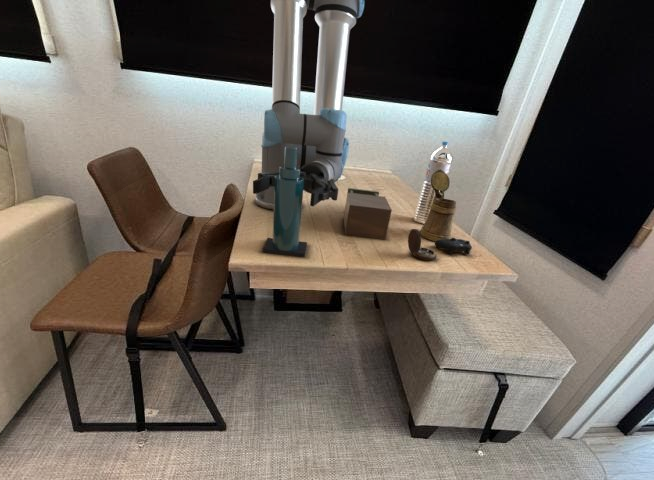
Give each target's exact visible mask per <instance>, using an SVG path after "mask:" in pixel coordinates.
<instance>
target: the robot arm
mask: <svg viewBox="0 0 654 480" xmlns="http://www.w3.org/2000/svg"><path fill="white" fill-rule="evenodd" d="M270 8H271V11H272V13H273V19H274V20H273V48H272V49H273V51H272V53H273V55H272V87H271V89H272V92H271V109H266V110H264V115H263V117H264V118H263V119H264V120H263V133H262V138H261V145H260V146H261V172H258V173H257V179H254V180H252V194H254V195H255V204H256V205H257V206H258V207H261V208H263V209H266V210H271V211H274V184H275V175H278V174H280V166H284V158H285V147H286V146H290V147H296V148H298V149H297V164H296V167H298V168H300V177H303V178H304V188H303V192H305V193H308V194H310V201H309V202H310V203H309V206H310V207H315V206H316V205H317V204H319V203H321V202H324V201H326V200H329V199H331V200H332V201H333V202H336V201H338V196H339V188H338V186H337V185H336V183H337V181H339V179H340V178H341V177H342V176H343V174H344V169H345V167H346V166H345V165H346V163H347V159H348V154H349V148H350V147H349V145H350V140H349V139H348V138H347V137H346V131H347V129H346V128H347V117H348V116H347V113H346V111H344V110H343V103H344V102H343V101H344V93H345V83H346V82H345V81H346V72H347V63H348V54H349V53H348V52H349V42H350V33H351V29H352V28H354V27H355V25H356V24H357V19H359V18H361V17H362V15H363V13H364V9H365V0H270ZM308 10H311V11H314V20H315V22H316V24H317V26H318V27H319V33H318V46H317V60H316V61H317V62H316V75H315V89H314V102H313V114H310V113H309V114H308V113H301V85H302V83H301V82H302V54H303V29H304V26H303V25H304V18H305V16H306V15H307V12H308Z"/></svg>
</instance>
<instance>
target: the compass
mask: <svg viewBox="0 0 654 480" xmlns="http://www.w3.org/2000/svg"><path fill="white" fill-rule="evenodd" d="M421 245H422V236H421V234H420V228H412V229H410V231H409V233H408V236H407V246H408V249H409V252H410V253H412V256H414V257H415V258H417V259H419V260H423V261H430V262H431V261H434V260H436V259H437V254H436V252H435V251H434V250H433V249H431V248H427V247H422V246H421Z"/></svg>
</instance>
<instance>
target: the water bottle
mask: <svg viewBox="0 0 654 480" xmlns="http://www.w3.org/2000/svg"><path fill="white" fill-rule="evenodd" d="M449 143H450V142H449V141H445V140H444V141H443V140H442V142H441V146H440V147H438V148H436V149H435V150H434V151H432V152H431V154H430V155H429V161H428V164H427V167H426V171H425V175H424V179H423V181H422V185H421V189H420V193H419V197H418V201H417V203H416V208H415V211H414V215H413V220H414V221H415V222H416V223H418V224H422V225H424V224H425V221H426V219H427V217H428V214H429V212H430V209H431V208H430V206H431V205H432V203H433V199H434V196H435V191H434V189H433V188H432V185H431V178H432V175H433V174H434V173H435V172H436V171H438V170H440V169H441V170H442V171H444V172H445V173H446V174H447V175H448V176H449V171H450V168H451V166H452V165H451V164H453V163H452V162H453V158H454V157H453V155H452V152H451V150H450V149H449V148H448V146H449V145H450V144H449Z"/></svg>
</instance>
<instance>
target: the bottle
mask: <svg viewBox="0 0 654 480" xmlns="http://www.w3.org/2000/svg"><path fill="white" fill-rule="evenodd" d="M297 149H298V148H296V147H290V146H286V147H285V158H284V166H280V174H278V175H275V184H274V210H273V215H272V218H273V219H272V238H273V242H272V245H273V247H274V248H276V249H278V250H282V251H293V250H296V249H298V247H299V241H300V238H301V237H300V236H301V223H302V213H303V199H304V190H303V188H304V178H303V177H300V168H298V167H296V164H297Z"/></svg>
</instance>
